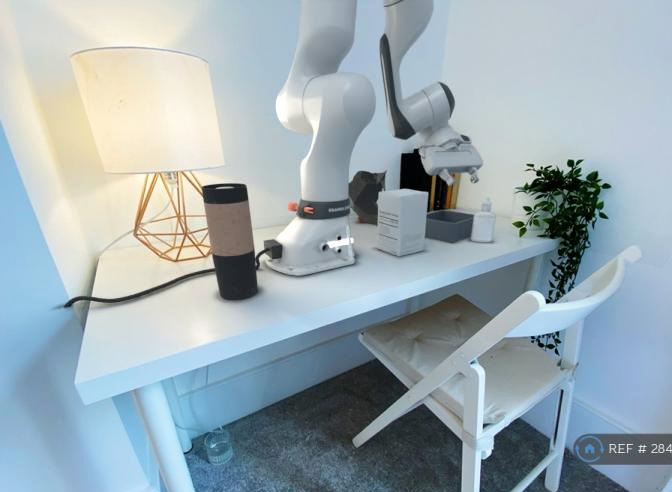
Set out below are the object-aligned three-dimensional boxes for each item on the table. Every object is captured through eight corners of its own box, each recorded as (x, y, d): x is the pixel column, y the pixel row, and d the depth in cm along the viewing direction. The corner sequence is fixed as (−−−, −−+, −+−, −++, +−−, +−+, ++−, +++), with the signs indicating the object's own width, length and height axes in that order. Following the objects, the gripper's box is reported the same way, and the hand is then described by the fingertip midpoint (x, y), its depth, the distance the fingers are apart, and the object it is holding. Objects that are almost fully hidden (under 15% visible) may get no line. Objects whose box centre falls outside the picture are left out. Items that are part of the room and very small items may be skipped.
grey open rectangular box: (452, 243, 95) (455, 223, 93) (413, 234, 104) (414, 216, 102) (478, 233, 104) (481, 215, 102) (440, 226, 113) (442, 209, 111)
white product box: (400, 243, 95) (404, 188, 89) (424, 251, 88) (430, 191, 82) (375, 248, 91) (377, 191, 85) (398, 257, 84) (402, 195, 78)
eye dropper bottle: (486, 244, 93) (494, 199, 88) (467, 240, 97) (474, 197, 92) (493, 241, 96) (501, 197, 91) (475, 237, 100) (481, 195, 95)
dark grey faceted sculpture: (366, 216, 129) (367, 166, 121) (399, 222, 118) (402, 168, 111) (339, 222, 120) (339, 168, 113) (372, 229, 110) (374, 171, 102)
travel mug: (210, 294, 65) (190, 186, 57) (240, 281, 71) (227, 182, 63) (237, 304, 61) (220, 190, 53) (267, 289, 67) (256, 184, 59)
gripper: (422, 137, 94) (444, 177, 90) (474, 137, 103) (496, 173, 99) (410, 154, 99) (430, 192, 95) (460, 152, 108) (481, 187, 104)
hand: (464, 182), depth 97 cm, fingers open, 8 cm apart
